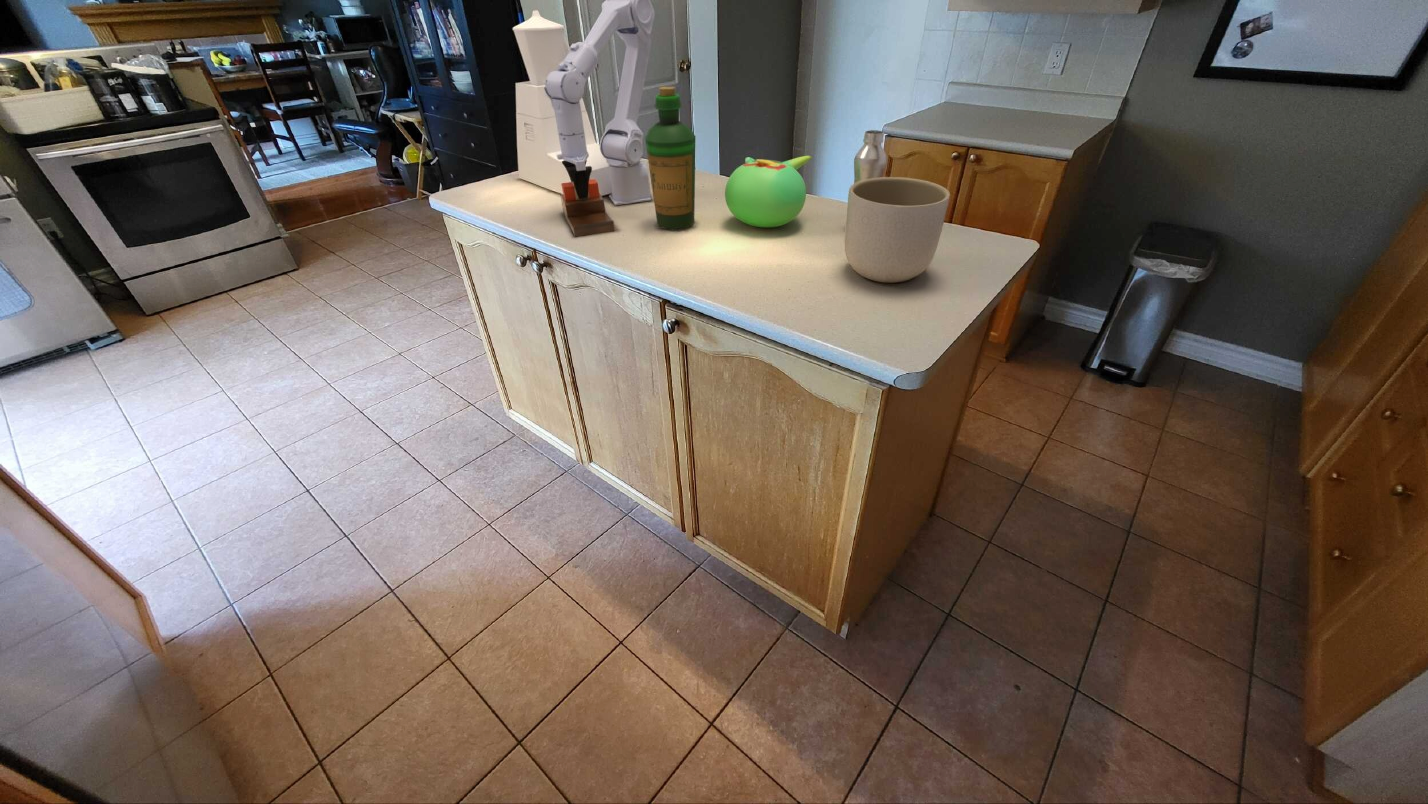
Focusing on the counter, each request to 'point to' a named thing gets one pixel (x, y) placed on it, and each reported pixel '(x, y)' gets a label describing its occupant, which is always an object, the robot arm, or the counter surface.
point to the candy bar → (571, 193)
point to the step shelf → (587, 216)
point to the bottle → (671, 164)
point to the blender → (547, 111)
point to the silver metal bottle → (870, 157)
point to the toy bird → (766, 191)
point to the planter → (893, 227)
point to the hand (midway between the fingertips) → (581, 195)
